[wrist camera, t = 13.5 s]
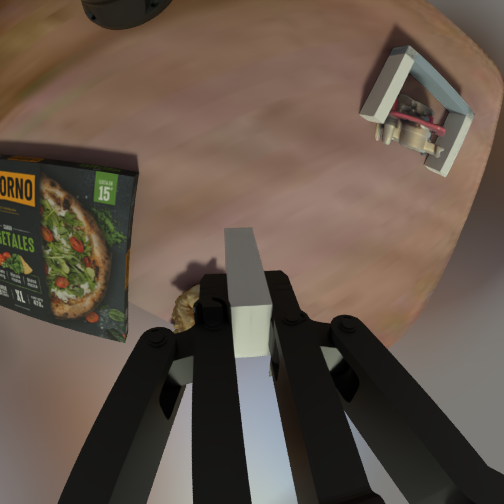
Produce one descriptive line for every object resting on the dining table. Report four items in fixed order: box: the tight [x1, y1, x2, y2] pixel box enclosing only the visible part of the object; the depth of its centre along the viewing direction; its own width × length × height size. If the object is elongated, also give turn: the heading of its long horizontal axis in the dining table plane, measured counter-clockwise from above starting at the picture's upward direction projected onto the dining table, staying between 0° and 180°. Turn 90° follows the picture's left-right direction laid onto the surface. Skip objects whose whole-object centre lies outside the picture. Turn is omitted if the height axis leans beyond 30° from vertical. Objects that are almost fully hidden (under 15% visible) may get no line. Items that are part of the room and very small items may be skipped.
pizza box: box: [0, 155, 139, 343], centre depth 44 cm, size 35×35×4 cm
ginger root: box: [172, 284, 200, 334], centre depth 52 cm, size 16×16×8 cm
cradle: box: [359, 45, 475, 177], centre depth 38 cm, size 15×19×5 cm
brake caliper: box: [375, 94, 446, 158], centre depth 38 cm, size 11×11×12 cm
